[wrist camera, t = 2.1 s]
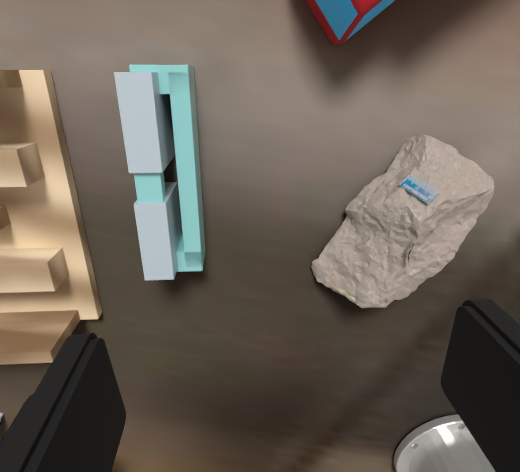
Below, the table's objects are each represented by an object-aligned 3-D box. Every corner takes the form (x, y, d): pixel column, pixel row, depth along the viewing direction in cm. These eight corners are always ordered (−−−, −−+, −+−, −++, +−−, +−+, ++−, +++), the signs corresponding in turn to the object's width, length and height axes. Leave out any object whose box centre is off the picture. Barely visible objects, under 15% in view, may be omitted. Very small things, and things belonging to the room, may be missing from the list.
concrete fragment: (296, 260, 31) (309, 301, 26) (409, 121, 27) (454, 134, 21) (356, 297, 33) (381, 342, 28) (471, 173, 29) (527, 197, 23)
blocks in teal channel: (205, 251, 30) (200, 283, 25) (159, 252, 30) (145, 285, 25) (193, 66, 24) (183, 64, 20) (136, 65, 24) (112, 64, 20)
